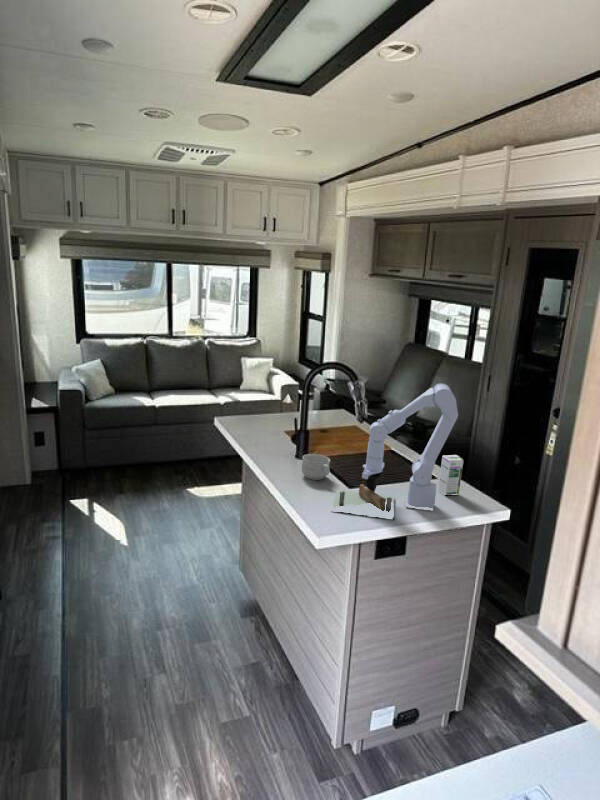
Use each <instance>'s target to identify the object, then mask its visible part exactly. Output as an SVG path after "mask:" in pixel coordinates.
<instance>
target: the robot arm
mask: <svg viewBox="0 0 600 800" xmlns="http://www.w3.org/2000/svg"><path fill="white" fill-rule="evenodd" d="M435 405H436V406H437V407H438V408H439V409H440V411H441V416H440V418H439V420H438V422H437V424H436V426H435V428H434V431H433V432H432V434H431V437H430V438H429V440H428V442H427V444H426V446H425V448H424V450H423V452H422V453H421V454H420V455H419V457H418V459H417V460H415V461H414V462H413V463H412V465H411V471H412V476H411V477H409V483H408V490H407V491H408V493H407V497H406V498H405V501H406V500H407V503H408V504H409V505H411V506H415V507H429V508H435V504H436V503H435V502H436V494H437V484H436V483H434V482H431V481H432V479H433V477H432V475H433V471H434V468H435V464H436V461H437V459H438V456H439V455H440V453H441V450H442V448H443V447H444V445H445V443H446V441H447V439H448V437H449V435H450V432H451V431H452V429H453V427H454V426H455V423H456V422H457V419H458V417H459V412H458V405H457V398H456V397H455V395H454V393H453V392H452V389H451V388H450V386H449V385H448V384H446V383H437V384H435V385H434V386H433V387H431V388H428V389H427V390H425V392H423V393H422V394H420V395H419V396H417V397H416V398H415V399H413V401H411V402H410V403H408V404H407V405H406V406H404V407H403V408H402V409H394V410H392V409H391V410H389V411H388V414H387V415H385V416H384V417H382V418H379V419H377V420H376V421H374V422H373V423H371V425H370V427H369V437H368V443H367V452H366V461H365V464H362V468H363V472H362V473H361V479H364V480H365V481H366V487H367V488H368V489H370V490H372V491H373V492H375V491H376V489H377V485H378V483H379V481H380V479H381V478H382V476H383V469H384V468H385V462H384V453H385V440H386V438H387V436H388V434H392V433H393V432H394V431H396V430H397V429H398V428H400V427H401V426H403V425H404V424H406V420H407V418H408V417H410V416H412V415H414V414H415V413H416V412H418V411H420V410H422V409H424V408H425V407H432V408H435V407H436V406H435Z"/></svg>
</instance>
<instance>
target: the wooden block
mask: <svg viewBox="0 0 600 800" xmlns="http://www.w3.org/2000/svg"><path fill="white" fill-rule="evenodd" d="M358 492H359V496H361V497H362V498H364V499H365V500H367V501H368V502H370V503H371V504H373V505H374V506H376V507H377V508H379V509H381V510H382V511H384V510H385V502H386V499H385V498H383V497H381V496H379V495H380V494H378V493H376V492H375V491H374V492H373V491H372V490H370V489H368V488H367V486H366V485H365V484H359V490H358Z"/></svg>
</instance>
